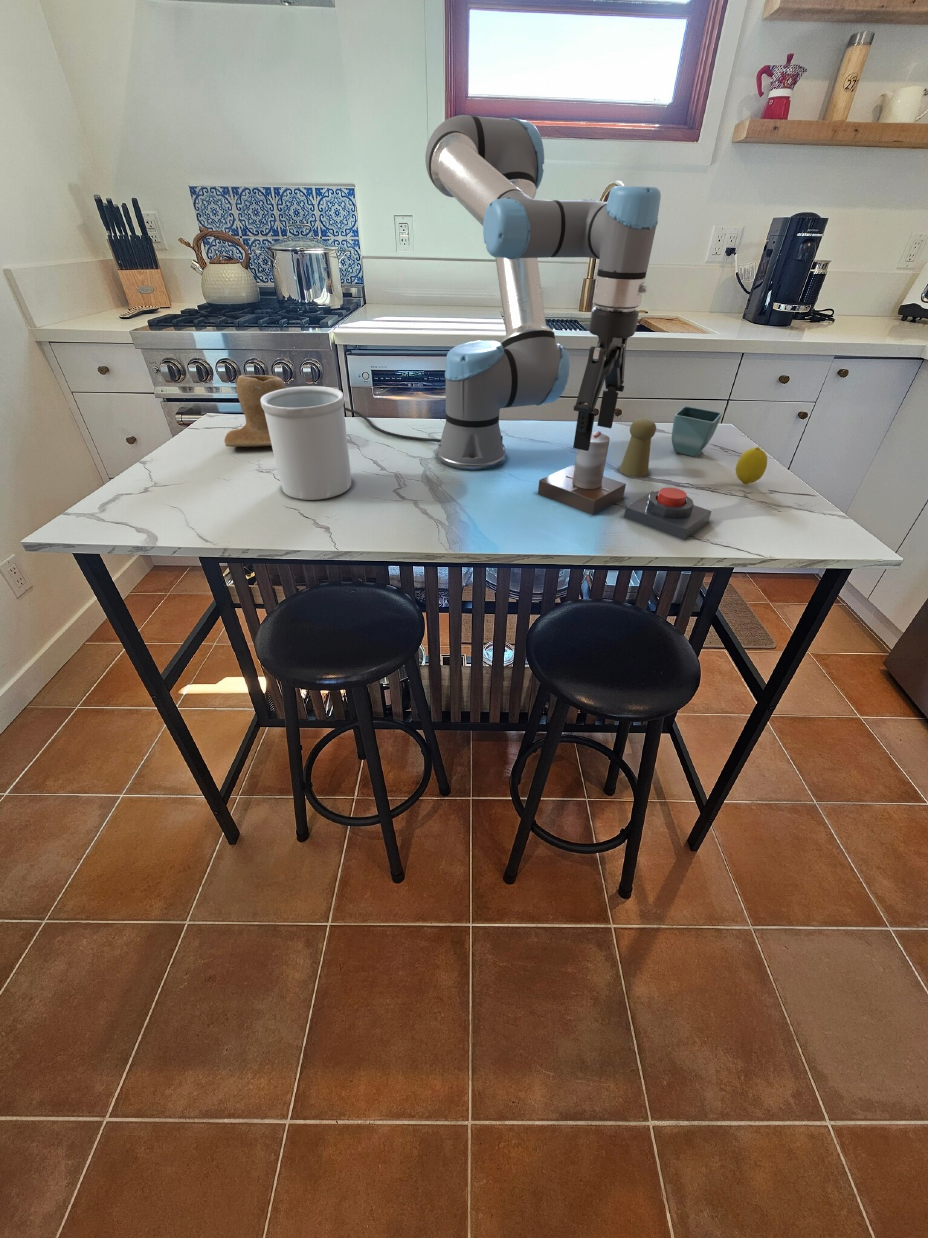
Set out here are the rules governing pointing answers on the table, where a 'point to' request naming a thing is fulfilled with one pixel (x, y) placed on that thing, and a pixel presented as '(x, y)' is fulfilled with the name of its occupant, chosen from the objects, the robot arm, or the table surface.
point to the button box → (667, 515)
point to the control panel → (580, 491)
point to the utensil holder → (309, 440)
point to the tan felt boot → (253, 410)
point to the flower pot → (693, 429)
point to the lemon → (751, 465)
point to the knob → (591, 462)
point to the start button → (672, 496)
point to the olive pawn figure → (638, 448)
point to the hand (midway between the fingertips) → (593, 437)
